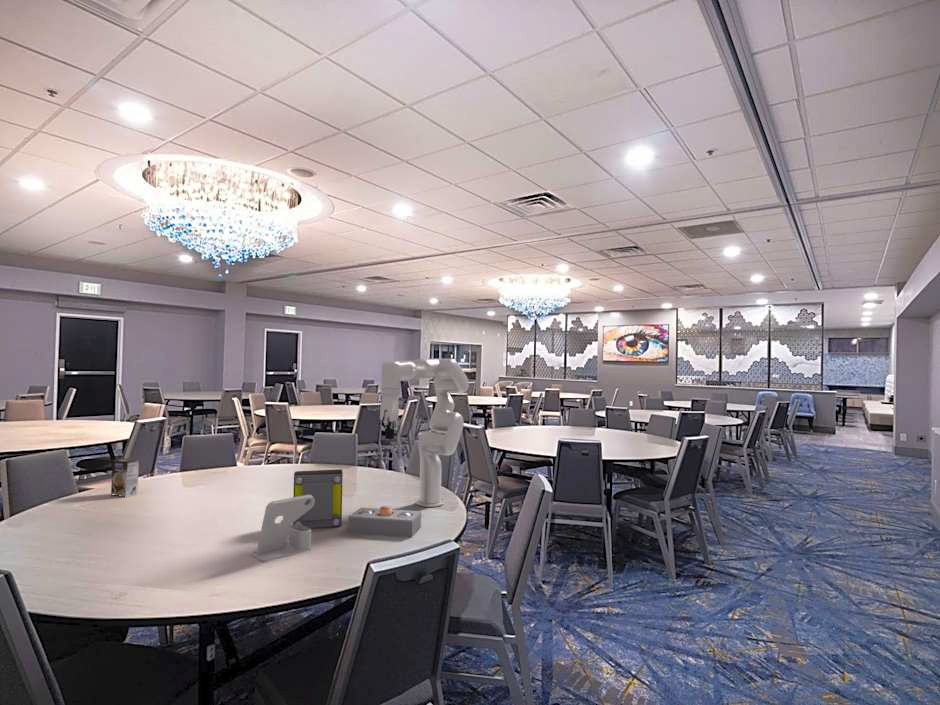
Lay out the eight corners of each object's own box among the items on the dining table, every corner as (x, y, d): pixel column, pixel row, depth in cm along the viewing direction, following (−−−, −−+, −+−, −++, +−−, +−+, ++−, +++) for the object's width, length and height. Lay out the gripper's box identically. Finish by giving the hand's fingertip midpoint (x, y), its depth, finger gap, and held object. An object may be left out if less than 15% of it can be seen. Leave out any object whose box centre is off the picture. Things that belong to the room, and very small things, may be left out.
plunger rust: (381, 519, 197) (382, 505, 197) (393, 520, 196) (393, 505, 196) (377, 522, 192) (378, 508, 193) (389, 523, 192) (389, 509, 192)
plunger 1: (362, 522, 198) (363, 508, 198) (373, 523, 197) (374, 509, 197) (358, 526, 194) (358, 511, 194) (369, 527, 193) (370, 512, 193)
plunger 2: (400, 525, 195) (401, 511, 196) (412, 526, 195) (412, 512, 195) (397, 529, 191) (397, 514, 191) (408, 529, 190) (409, 515, 190)
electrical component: (292, 531, 192) (293, 476, 192) (293, 522, 201) (295, 470, 202) (341, 527, 196) (342, 474, 197) (340, 519, 206) (341, 468, 207)
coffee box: (110, 495, 238) (111, 460, 238) (123, 492, 244) (124, 457, 244) (125, 497, 235) (126, 461, 236) (138, 494, 241) (139, 459, 242)
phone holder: (299, 541, 180) (300, 489, 181) (314, 548, 173) (316, 494, 174) (249, 554, 167) (250, 497, 168) (264, 562, 160) (265, 503, 161)
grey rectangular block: (360, 523, 202) (361, 507, 202) (420, 527, 198) (421, 511, 198) (348, 532, 190) (348, 516, 190) (412, 537, 186) (412, 520, 186)
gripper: (387, 391, 216) (386, 436, 215) (374, 393, 201) (374, 441, 201) (405, 391, 215) (404, 436, 214) (393, 393, 200) (392, 441, 199)
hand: (389, 438), depth 207 cm, fingers closed
